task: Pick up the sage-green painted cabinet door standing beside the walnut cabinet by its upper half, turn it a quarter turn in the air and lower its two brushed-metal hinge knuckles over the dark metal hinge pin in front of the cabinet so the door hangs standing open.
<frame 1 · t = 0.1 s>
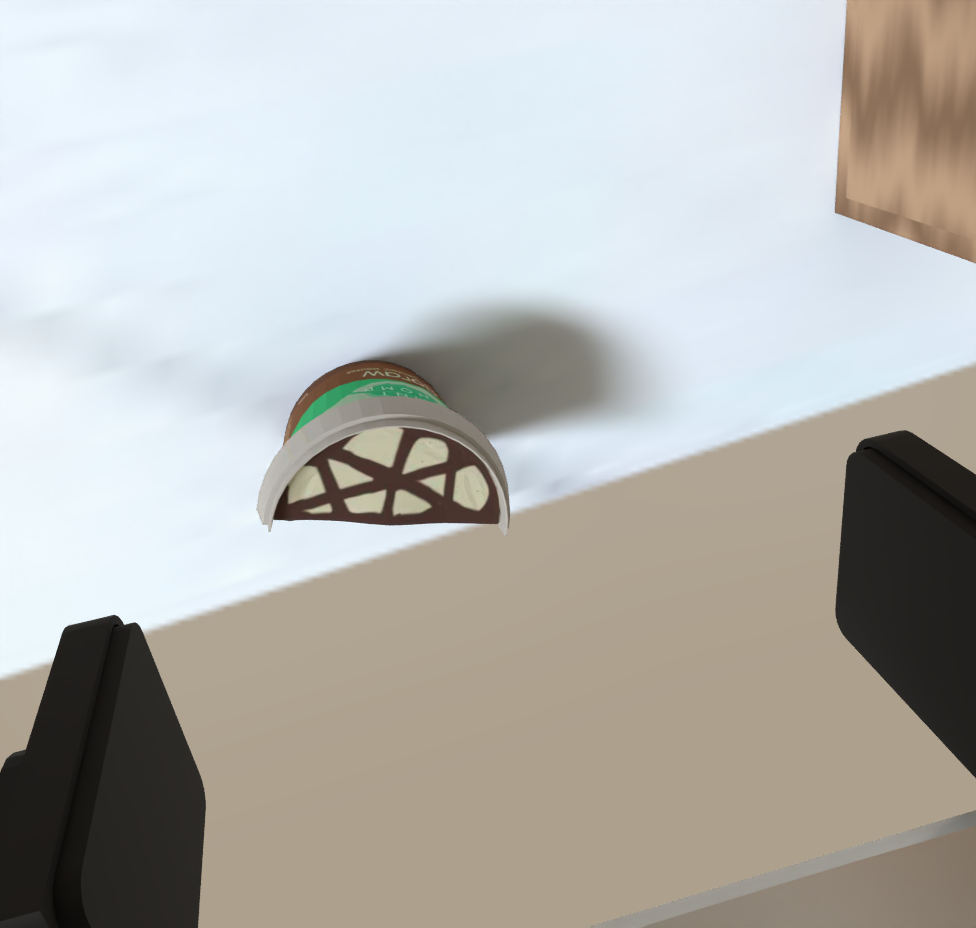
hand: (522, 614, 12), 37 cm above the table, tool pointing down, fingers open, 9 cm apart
cabinet: (917, 86, 48), on the table
food container: (374, 391, 49), on the table
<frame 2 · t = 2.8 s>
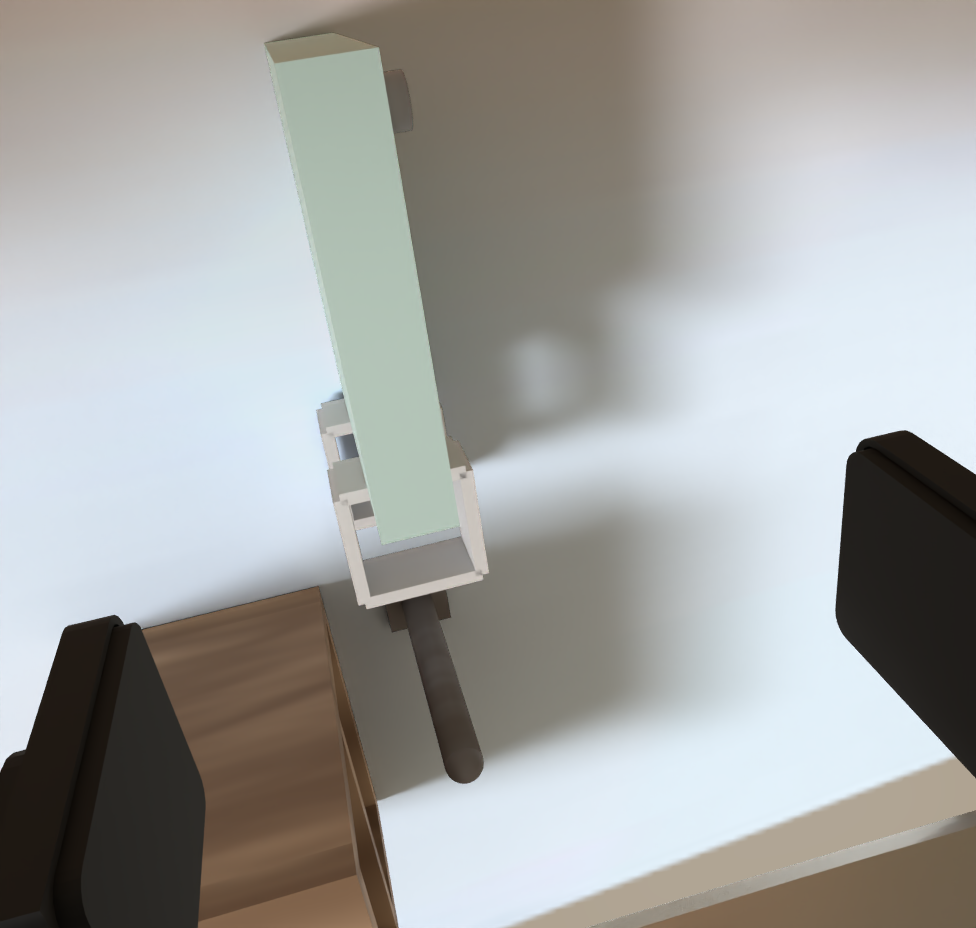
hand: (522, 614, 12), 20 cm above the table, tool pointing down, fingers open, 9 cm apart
door: (338, 228, 28), on the table
cabinet: (240, 732, 36), on the table
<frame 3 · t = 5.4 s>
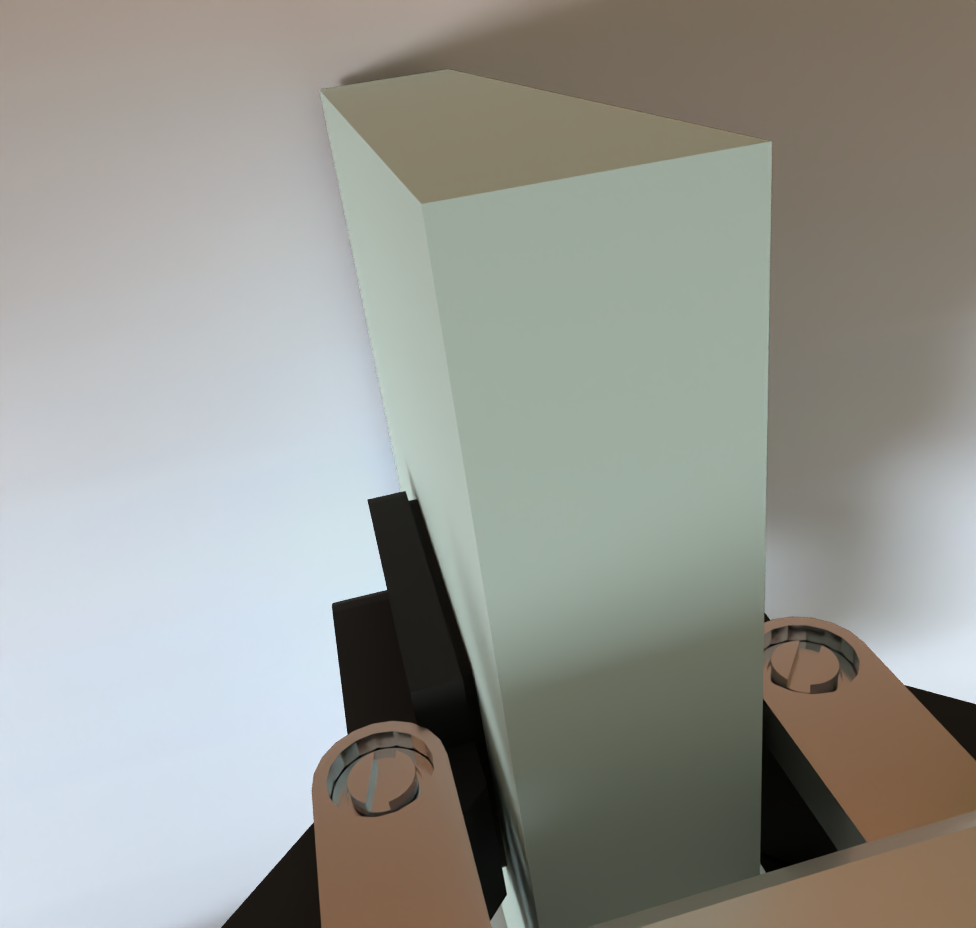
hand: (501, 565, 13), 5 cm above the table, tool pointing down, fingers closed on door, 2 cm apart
door: (439, 406, 16), on the table, touching gripper
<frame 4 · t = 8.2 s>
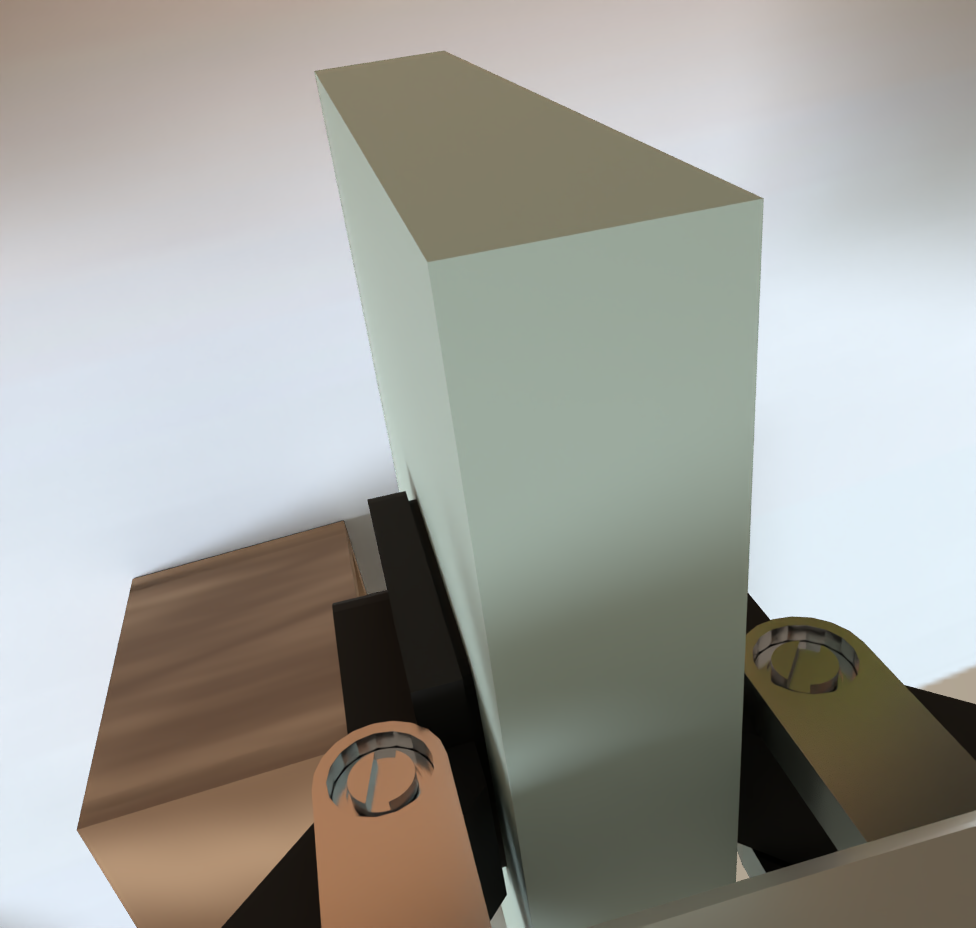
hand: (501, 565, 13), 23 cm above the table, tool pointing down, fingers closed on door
door: (433, 385, 16), point 18 cm above the table, touching gripper
cabinet: (281, 656, 40), on the table
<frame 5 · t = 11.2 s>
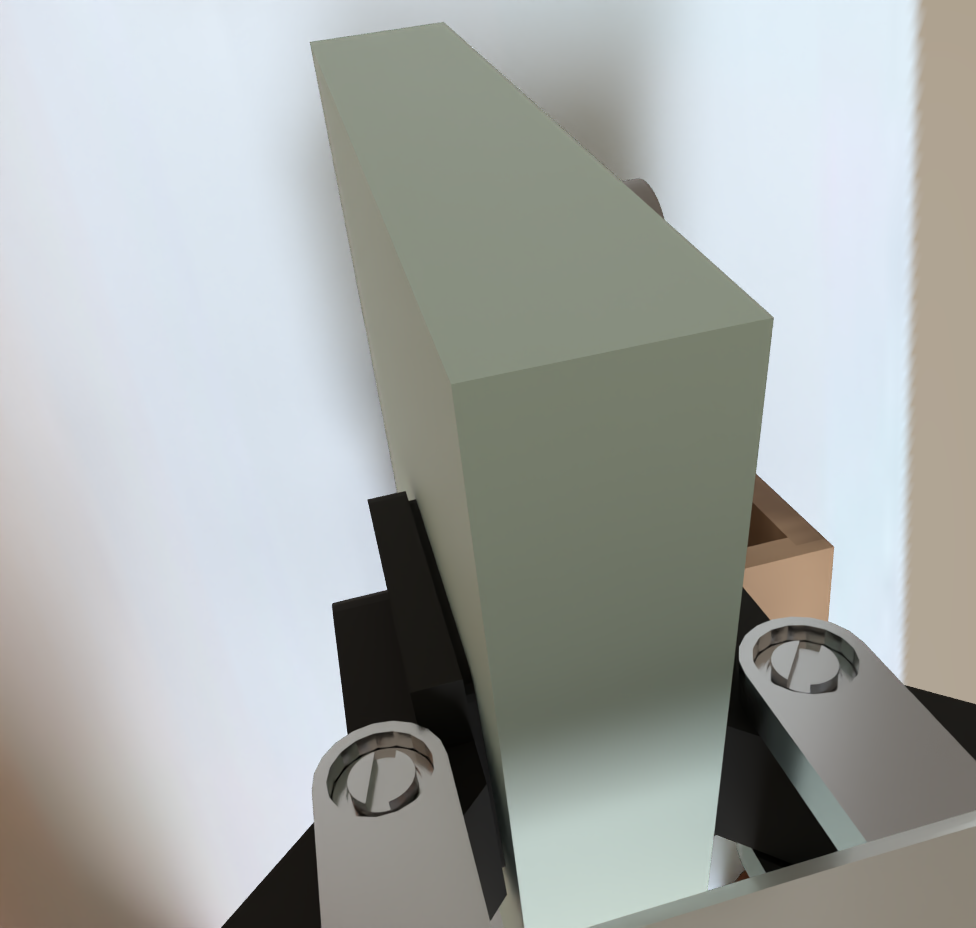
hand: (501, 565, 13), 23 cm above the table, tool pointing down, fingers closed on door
door: (426, 356, 16), point 18 cm above the table, tilted 8°, touching gripper
cabinet: (545, 507, 40), on the table
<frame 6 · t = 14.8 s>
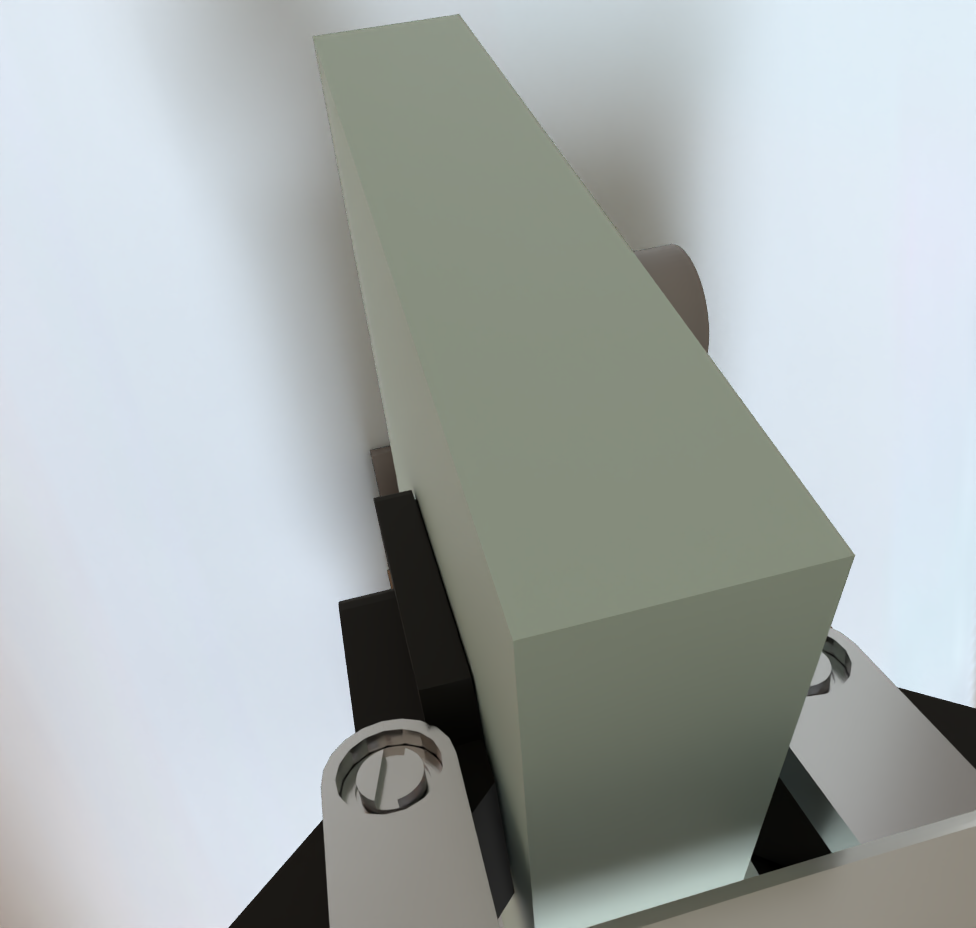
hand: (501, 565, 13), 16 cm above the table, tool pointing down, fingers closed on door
door: (430, 354, 16), point 11 cm above the table, tilted 16°, touching gripper
cabinet: (562, 629, 34), on the table
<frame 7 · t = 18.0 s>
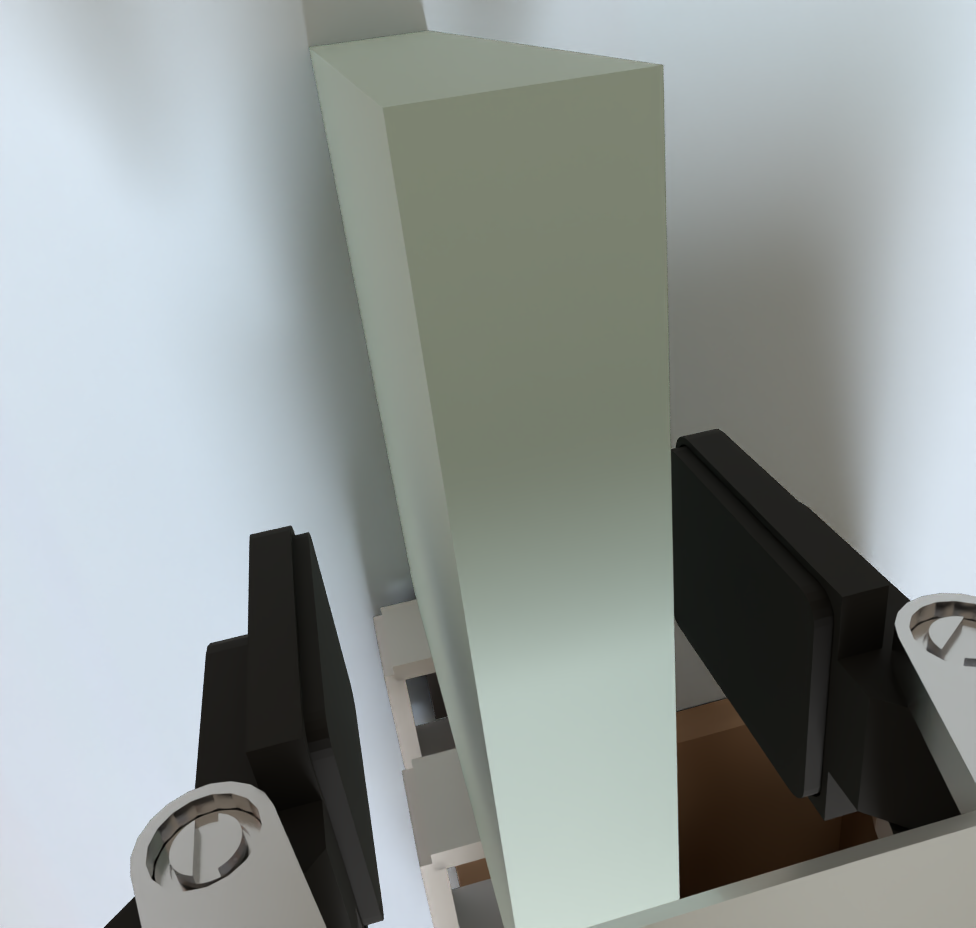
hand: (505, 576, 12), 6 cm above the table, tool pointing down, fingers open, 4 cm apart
door: (419, 348, 17), on the table
cabinet: (663, 831, 26), on the table
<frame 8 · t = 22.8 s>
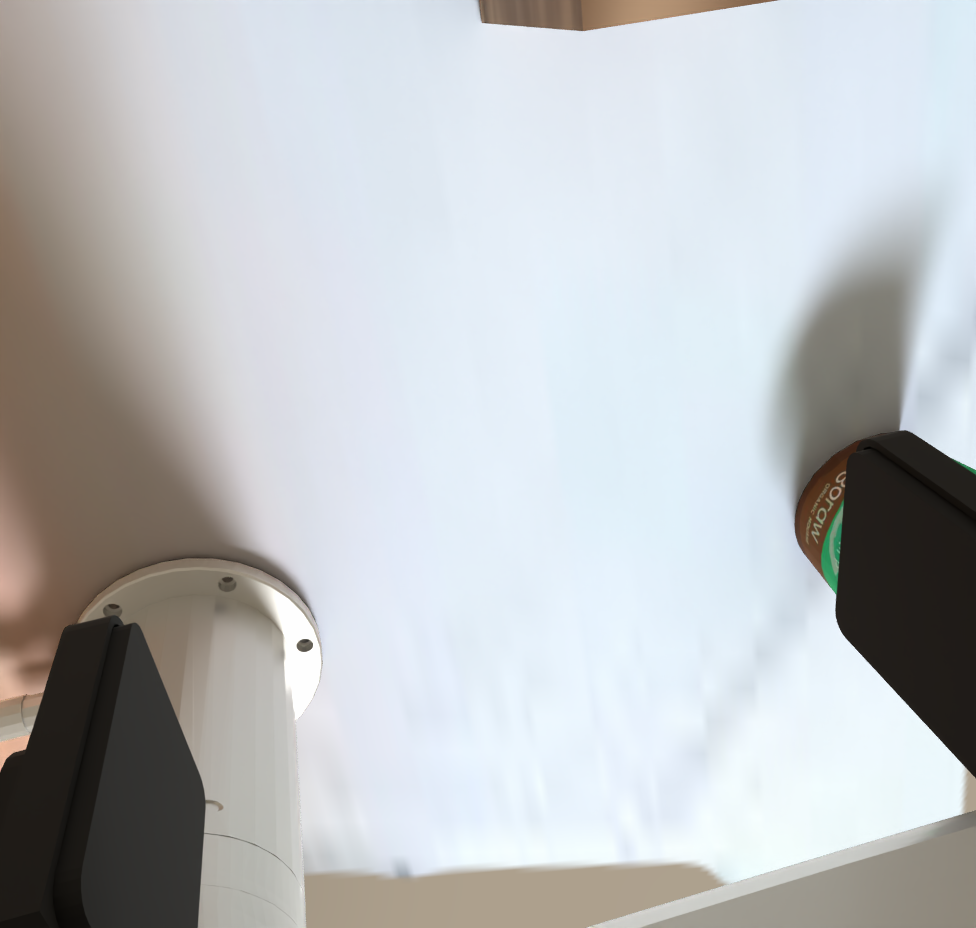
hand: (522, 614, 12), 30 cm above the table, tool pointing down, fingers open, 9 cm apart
food container: (824, 501, 52), on the table
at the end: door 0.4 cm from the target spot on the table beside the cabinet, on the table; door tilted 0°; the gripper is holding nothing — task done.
